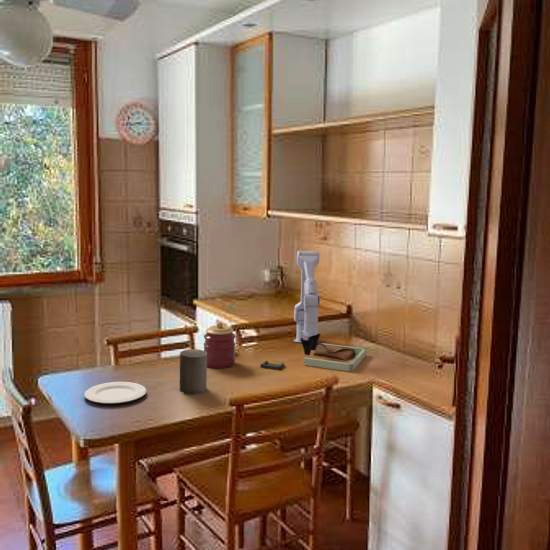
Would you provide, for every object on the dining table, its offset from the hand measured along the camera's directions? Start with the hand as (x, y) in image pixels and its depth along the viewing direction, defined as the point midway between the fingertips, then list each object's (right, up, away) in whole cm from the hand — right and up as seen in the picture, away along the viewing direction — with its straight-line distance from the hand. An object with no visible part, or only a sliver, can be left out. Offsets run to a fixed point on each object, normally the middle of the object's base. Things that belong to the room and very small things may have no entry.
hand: (310, 352), depth 262 cm
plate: (-70, -9, -51) cm, 87 cm away
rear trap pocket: (+2, +1, +16) cm, 16 cm away
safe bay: (+11, -3, -4) cm, 12 cm away
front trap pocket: (-16, -4, -15) cm, 22 cm away
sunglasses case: (+10, -2, +3) cm, 11 cm away
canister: (-38, -3, -13) cm, 40 cm away
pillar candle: (-44, -8, -43) cm, 63 cm away
